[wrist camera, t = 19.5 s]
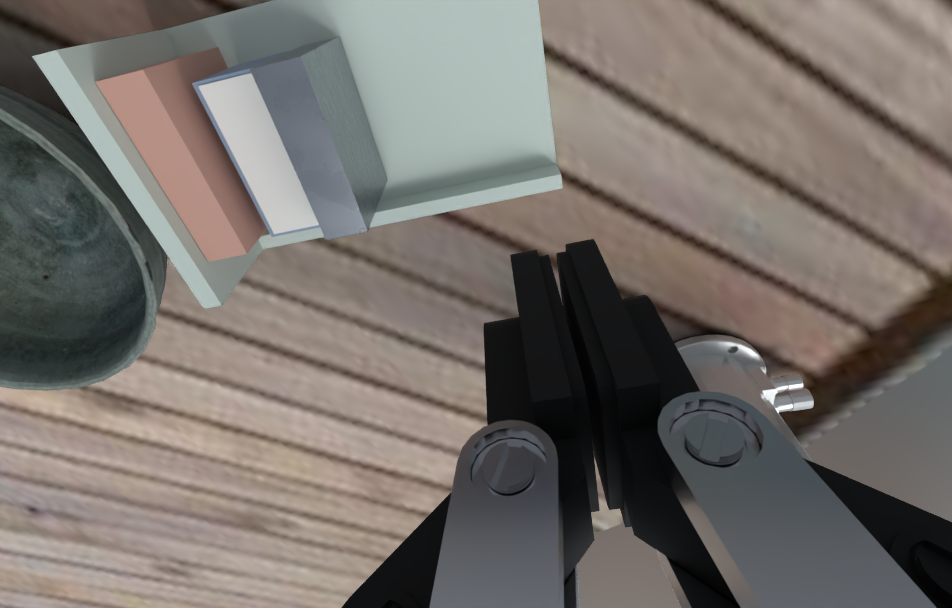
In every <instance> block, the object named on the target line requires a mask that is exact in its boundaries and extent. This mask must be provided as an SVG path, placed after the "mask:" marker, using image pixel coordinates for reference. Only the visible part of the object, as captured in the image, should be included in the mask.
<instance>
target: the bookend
mask: <svg viewBox="0 0 952 608" xmlns="http://www.w3.org/2000/svg"><path fill="white" fill-rule="evenodd" d="M250 71H251V73H252V75H253V78H254V80H255V82H256V84H257V87H258V89H259V91H260V93H261V96H262V98H263V100H264V102H265V105H266V107H267V109H268V111H269V114H270V116H271V118H272V120H273V122H274V125H275V127H276V129H277V131H278V134H279V136H280V138H281V140H282V143H283V145H284V147H285V149H286V152H287V154H288V156H289V158H290V161H291V163H292V165H293V167H294V170H295V172H296V174H297V176H298V179H299V181H300V183H301V185H302V187H303V190H304V192H305V194H306V196H307V199H308V201H309V203H310V205H311V208H312V210H313V212H314V214H315V217H316V219H317V221H318V223H319V226H320V228H321V230H322V232H323V235H324V237H325V239H326V240H328V239H333V238H338V237H343V236H348V235H353V234H358V233H363V232H368V230H369V227H370V224H371V222H372V219H373V217H374V214H375V212H376V209H377V206H378V204H379V201H380V199H381V196H382V194H383V191H384V188H385V186H386V183H387V181H388V179H387V176H386V173H385V170H384V167H383V164H382V161H381V158H380V155H379V152H378V149H377V146H376V143H375V140H374V137H373V134H372V131H371V128H370V125H369V122H368V119H367V116H366V113H365V110H364V107H363V104H362V101H361V98H360V95H359V92H358V89H357V86H356V83H355V80H354V77H353V74H352V71H351V68H350V65H349V62H348V59H347V56H346V53H345V50H344V47H343V44H342V41H341V38H340V37H336V38H332V39H328V40H324V41H320V42H316V43H312V44H308V45H304V46H300V47H298V48H296V49H294V50H291V51H289V52H287V53H285V54H283V55H280V56H278V57H276V58H274V59H271V60H269V61H267V62H265V63H263V64H260V65H258V66H256V67H254V68H251V69H250Z"/></svg>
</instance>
